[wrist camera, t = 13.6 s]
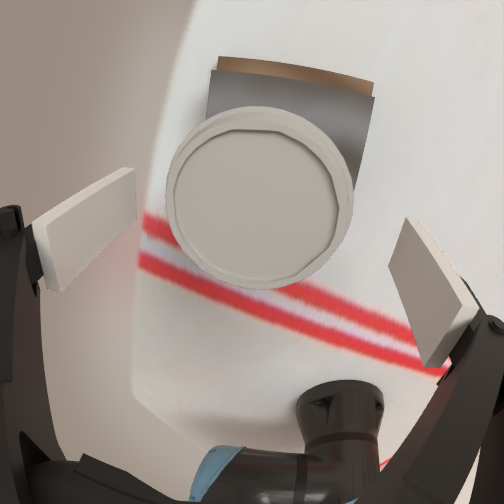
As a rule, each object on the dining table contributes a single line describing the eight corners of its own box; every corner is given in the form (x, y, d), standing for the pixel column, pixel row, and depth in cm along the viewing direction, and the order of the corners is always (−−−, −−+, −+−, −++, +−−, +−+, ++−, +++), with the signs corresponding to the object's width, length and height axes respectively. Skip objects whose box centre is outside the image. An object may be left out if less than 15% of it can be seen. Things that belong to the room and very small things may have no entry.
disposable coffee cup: (240, 223, 28) (203, 310, 18) (200, 122, 24) (126, 153, 14) (345, 195, 25) (373, 275, 15) (312, 85, 21) (324, 79, 11)
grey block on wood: (336, 232, 32) (340, 256, 28) (206, 208, 33) (192, 228, 29) (370, 82, 24) (383, 81, 20) (222, 57, 25) (207, 52, 21)
